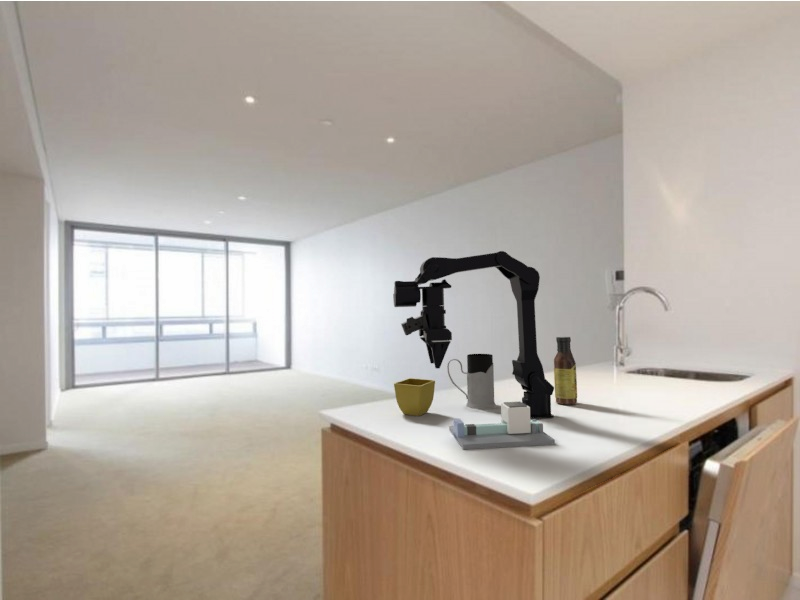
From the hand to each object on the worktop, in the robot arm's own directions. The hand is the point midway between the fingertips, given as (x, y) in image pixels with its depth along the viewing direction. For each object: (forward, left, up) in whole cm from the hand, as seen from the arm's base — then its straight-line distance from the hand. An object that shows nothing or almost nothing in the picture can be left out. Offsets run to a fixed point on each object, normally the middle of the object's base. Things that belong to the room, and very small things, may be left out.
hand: (435, 365), depth 112 cm
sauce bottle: (-42, -12, -15) cm, 46 cm away
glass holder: (-14, -15, -15) cm, 25 cm away
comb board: (-12, +16, -14) cm, 24 cm away
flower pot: (+4, -8, -15) cm, 17 cm away
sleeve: (-16, +16, -13) cm, 26 cm away
